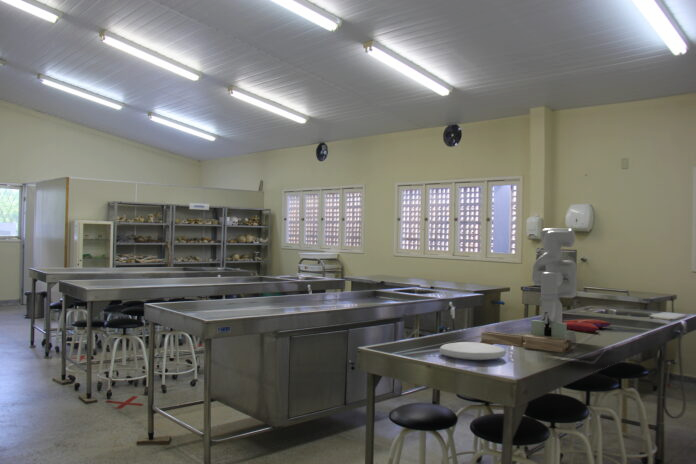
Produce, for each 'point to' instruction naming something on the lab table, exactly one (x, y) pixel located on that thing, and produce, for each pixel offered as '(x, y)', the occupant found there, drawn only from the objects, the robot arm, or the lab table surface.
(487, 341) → the cradle
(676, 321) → the lab table surface
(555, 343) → the rack
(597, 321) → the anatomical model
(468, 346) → the plate
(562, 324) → the tall sheet
